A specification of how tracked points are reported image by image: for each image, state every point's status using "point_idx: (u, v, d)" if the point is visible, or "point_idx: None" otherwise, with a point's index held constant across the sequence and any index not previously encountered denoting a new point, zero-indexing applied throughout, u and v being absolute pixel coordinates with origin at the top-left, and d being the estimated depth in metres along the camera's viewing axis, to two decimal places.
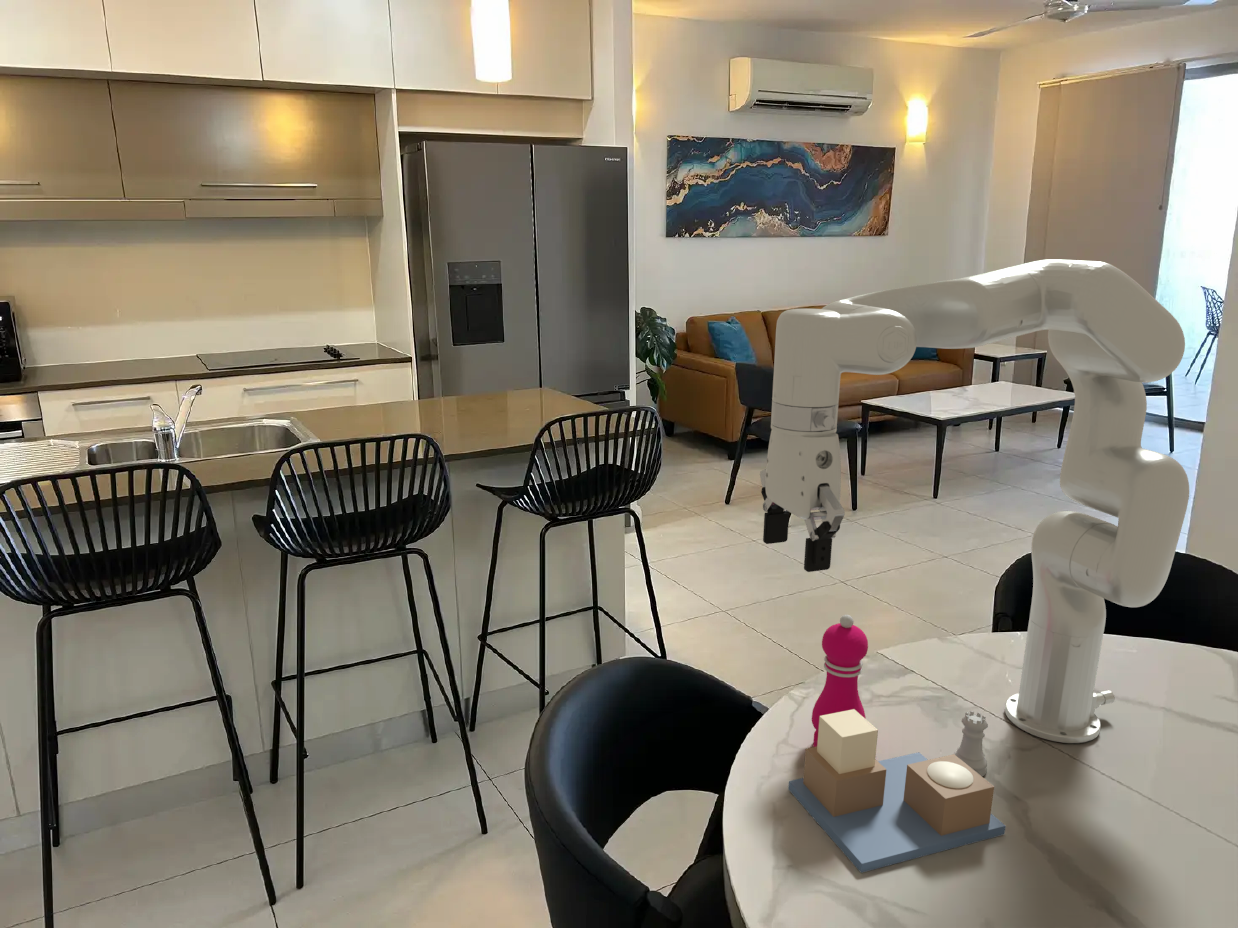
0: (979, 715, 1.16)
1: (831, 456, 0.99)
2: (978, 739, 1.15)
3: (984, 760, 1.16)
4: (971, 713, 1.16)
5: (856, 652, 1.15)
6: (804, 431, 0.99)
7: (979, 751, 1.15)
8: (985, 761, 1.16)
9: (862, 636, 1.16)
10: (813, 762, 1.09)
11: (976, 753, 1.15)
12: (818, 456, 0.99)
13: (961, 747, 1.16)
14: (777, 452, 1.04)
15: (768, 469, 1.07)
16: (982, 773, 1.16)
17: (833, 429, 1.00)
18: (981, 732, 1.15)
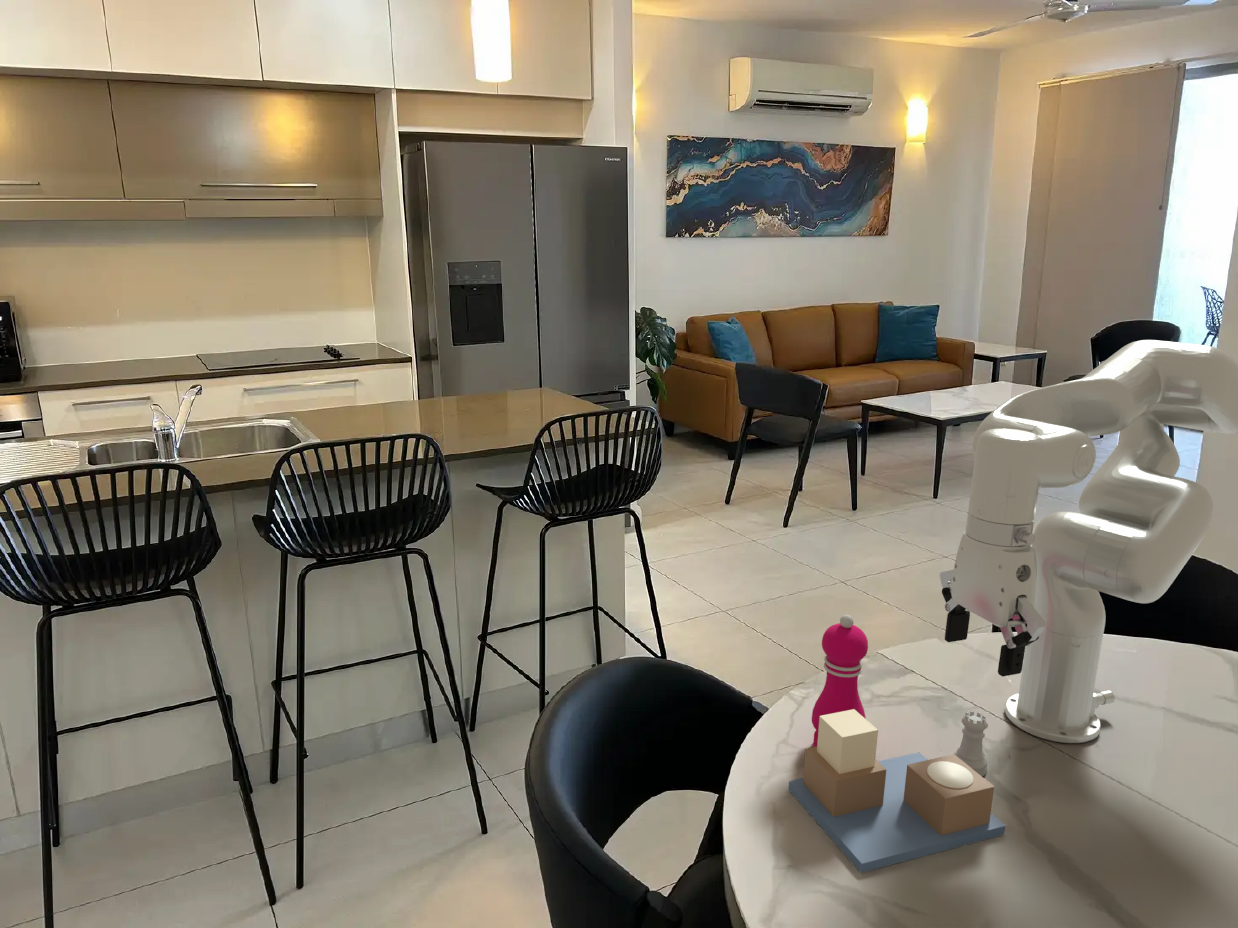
0: (979, 715, 1.16)
1: (1029, 569, 1.06)
2: (978, 739, 1.15)
3: (984, 760, 1.16)
4: (971, 713, 1.16)
5: (856, 652, 1.15)
6: (1005, 546, 1.05)
7: (979, 751, 1.15)
8: (985, 761, 1.16)
9: (862, 636, 1.16)
10: (813, 762, 1.09)
11: (976, 753, 1.15)
12: (1017, 569, 1.06)
13: (961, 747, 1.16)
14: (970, 560, 1.10)
15: (956, 574, 1.13)
16: (982, 773, 1.15)
17: None
18: (981, 732, 1.15)
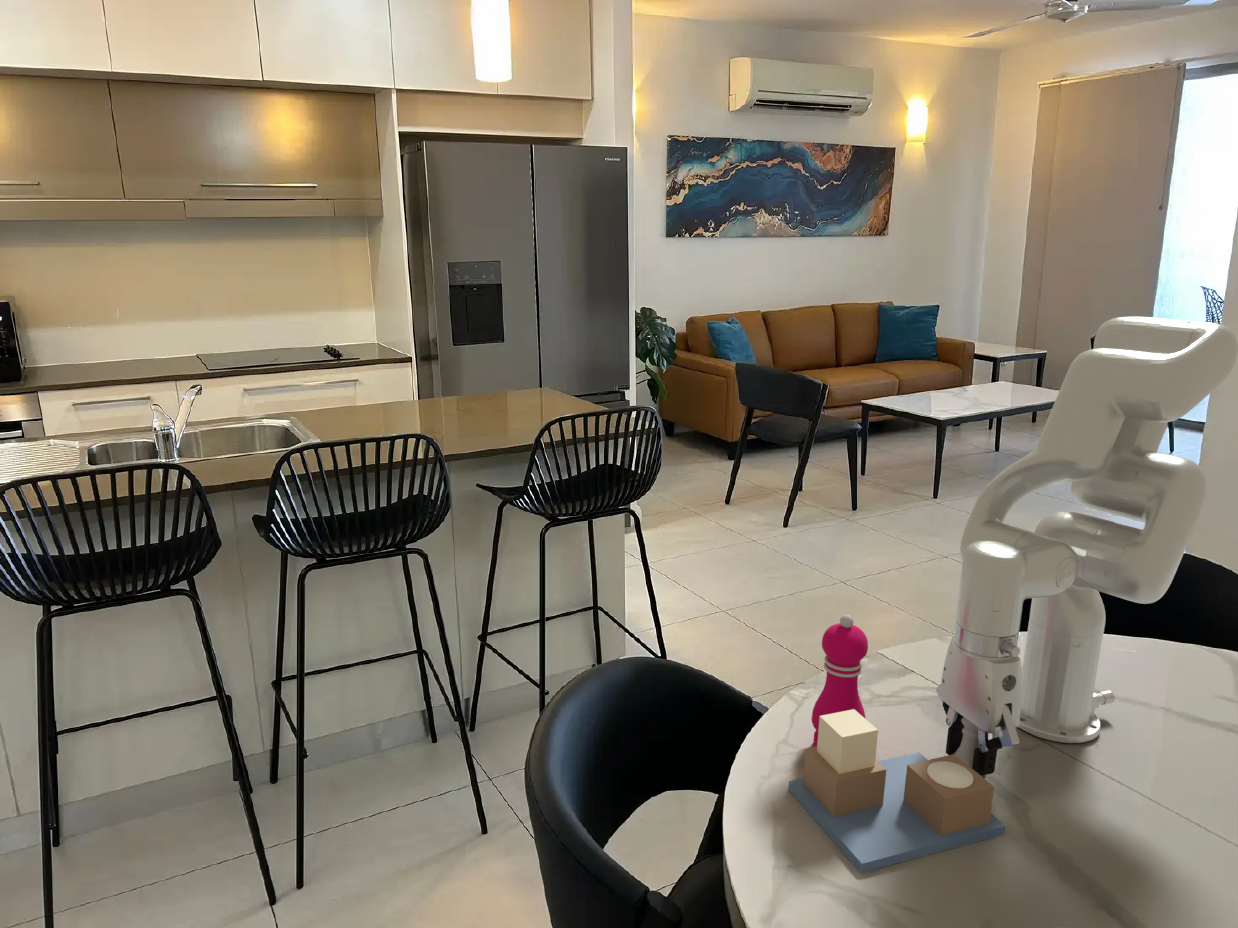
0: None
1: (1015, 679, 1.09)
2: (978, 739, 1.15)
3: None
4: None
5: (856, 652, 1.15)
6: (991, 657, 1.09)
7: None
8: None
9: (862, 636, 1.16)
10: (813, 762, 1.09)
11: None
12: (1003, 678, 1.09)
13: (961, 747, 1.16)
14: (958, 666, 1.14)
15: (945, 676, 1.17)
16: None
17: None
18: None
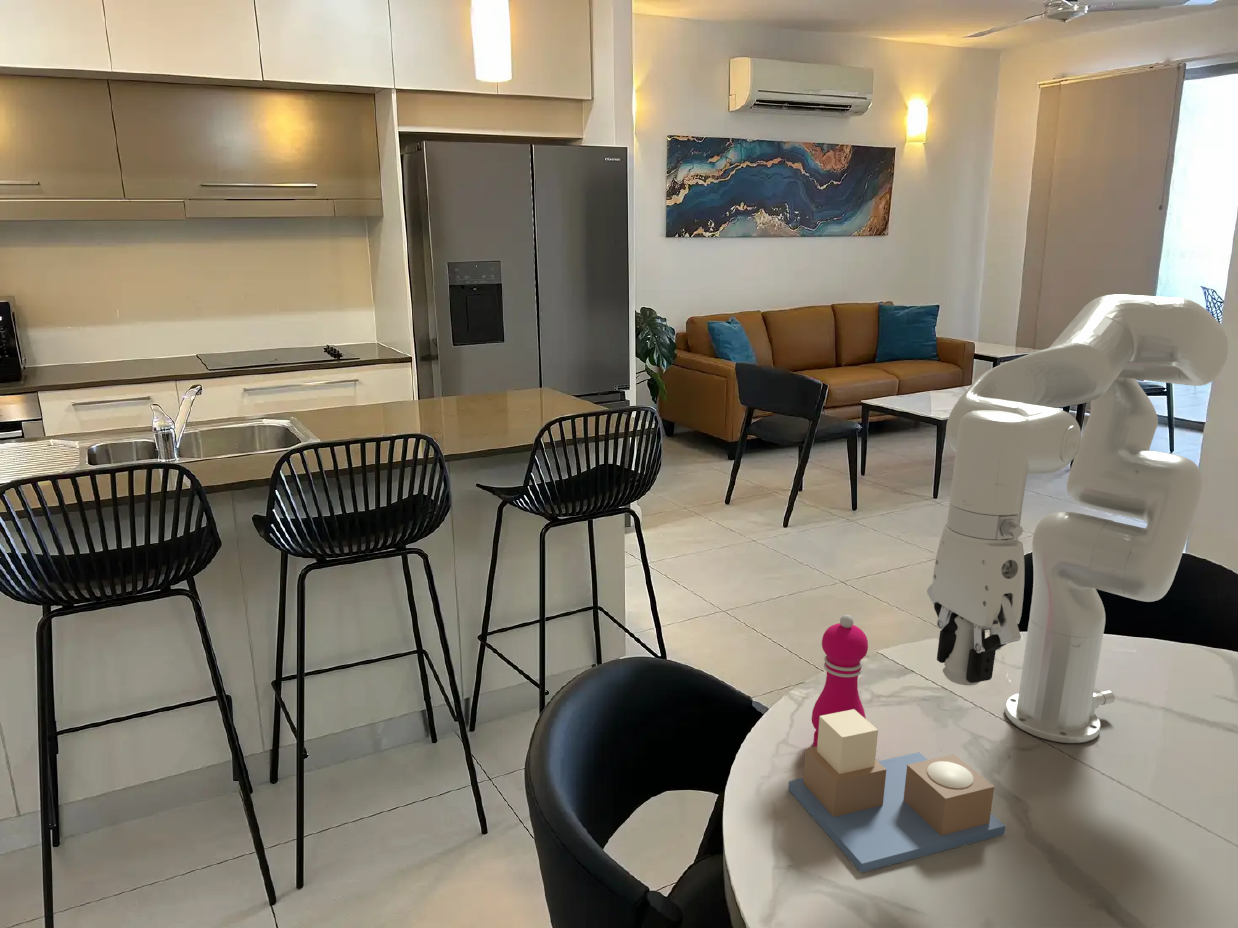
0: None
1: (1016, 565, 0.96)
2: (973, 640, 1.01)
3: None
4: None
5: (856, 652, 1.15)
6: (989, 539, 0.95)
7: None
8: None
9: (862, 636, 1.16)
10: (813, 762, 1.09)
11: None
12: (1002, 565, 0.96)
13: (954, 650, 1.02)
14: (952, 556, 1.00)
15: (937, 571, 1.03)
16: None
17: None
18: None
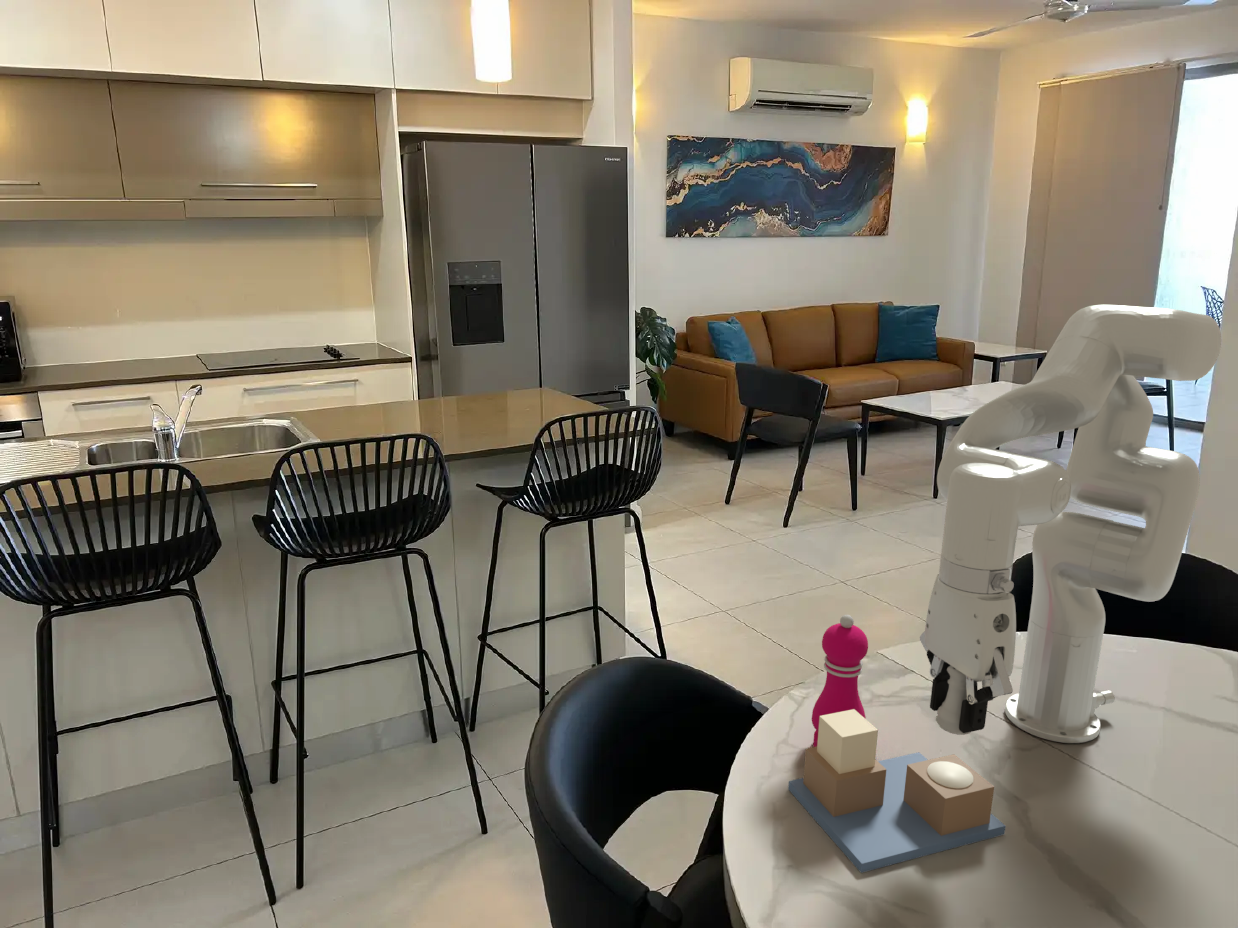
0: None
1: (1008, 619, 0.96)
2: (966, 690, 1.01)
3: None
4: None
5: (856, 652, 1.15)
6: (980, 593, 0.96)
7: None
8: None
9: (862, 636, 1.16)
10: (813, 762, 1.09)
11: None
12: (994, 618, 0.96)
13: (947, 699, 1.03)
14: (944, 607, 1.00)
15: (929, 620, 1.03)
16: None
17: None
18: None
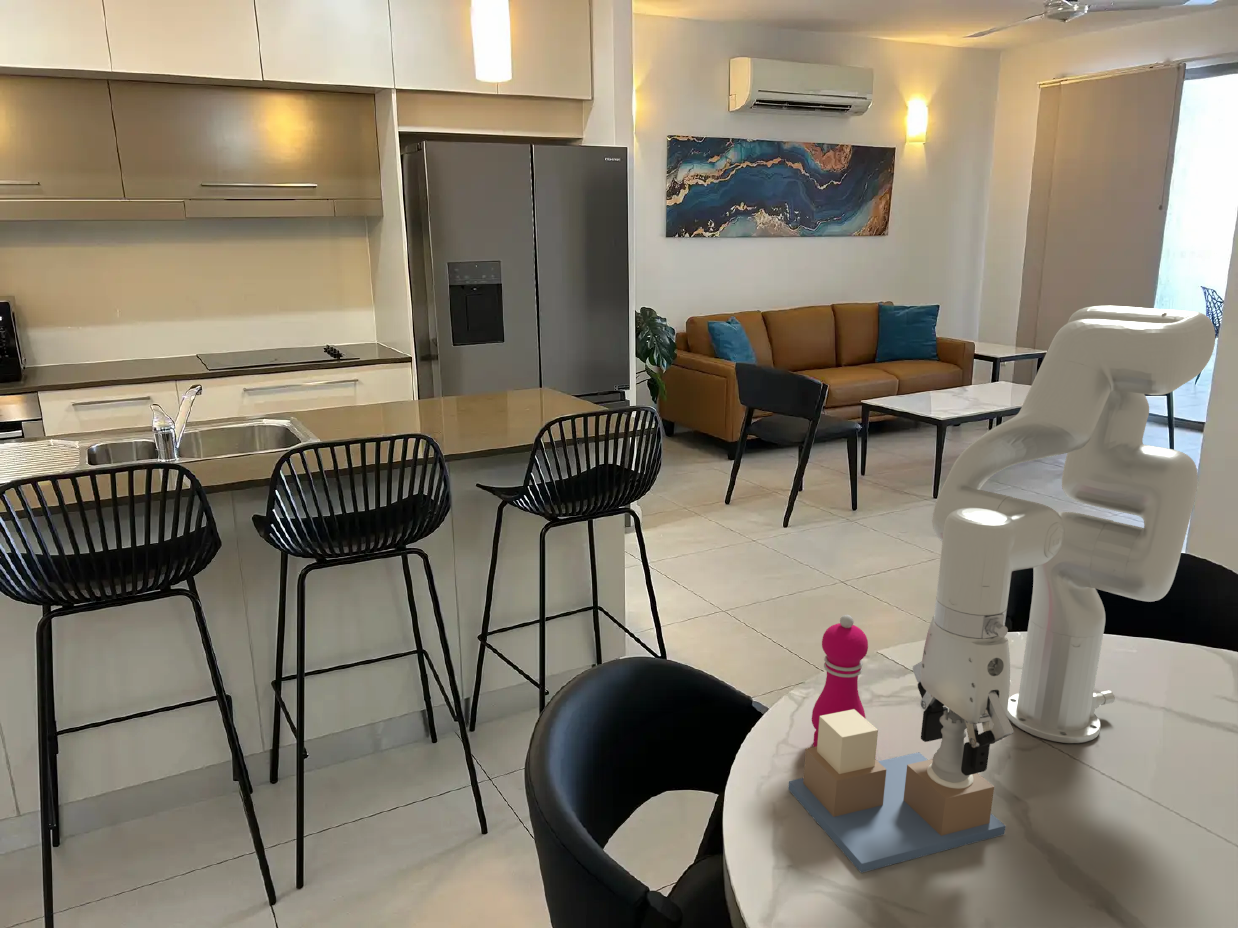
0: None
1: (1002, 662, 0.97)
2: (959, 740, 1.03)
3: None
4: (950, 711, 1.04)
5: (856, 652, 1.15)
6: (975, 638, 0.97)
7: (961, 752, 1.03)
8: None
9: (862, 636, 1.16)
10: (813, 762, 1.09)
11: (957, 755, 1.03)
12: (988, 662, 0.97)
13: (941, 748, 1.05)
14: (939, 649, 1.02)
15: (925, 661, 1.05)
16: (965, 776, 1.04)
17: None
18: (962, 732, 1.03)
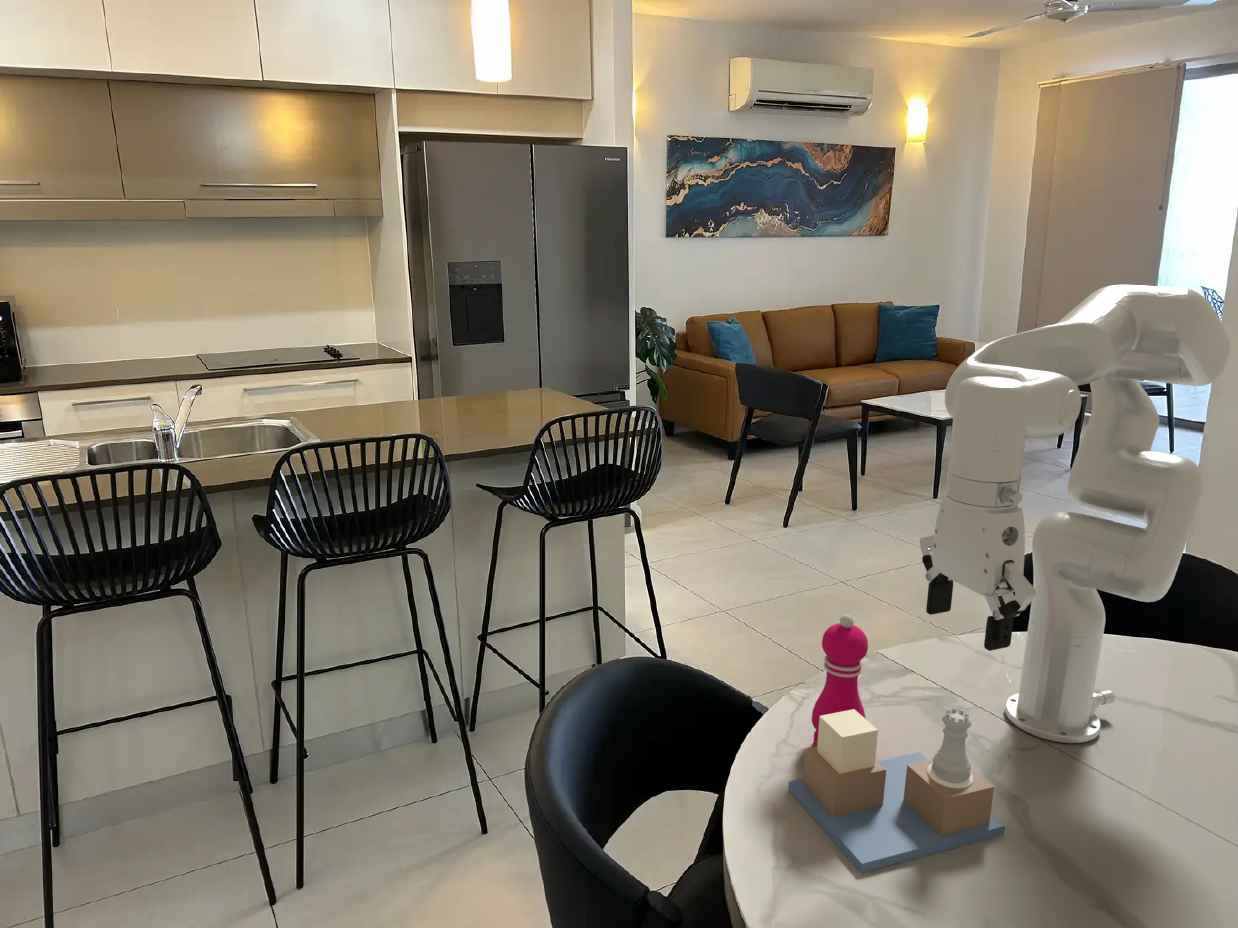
0: (962, 713, 1.04)
1: (1016, 532, 0.95)
2: (960, 739, 1.03)
3: (967, 763, 1.04)
4: (953, 711, 1.05)
5: (856, 652, 1.15)
6: (989, 506, 0.95)
7: (962, 753, 1.04)
8: (969, 764, 1.04)
9: (862, 636, 1.16)
10: (813, 762, 1.09)
11: (958, 755, 1.04)
12: (1003, 532, 0.95)
13: (942, 748, 1.05)
14: (951, 524, 0.99)
15: (937, 540, 1.02)
16: (965, 777, 1.04)
17: None
18: (964, 732, 1.03)
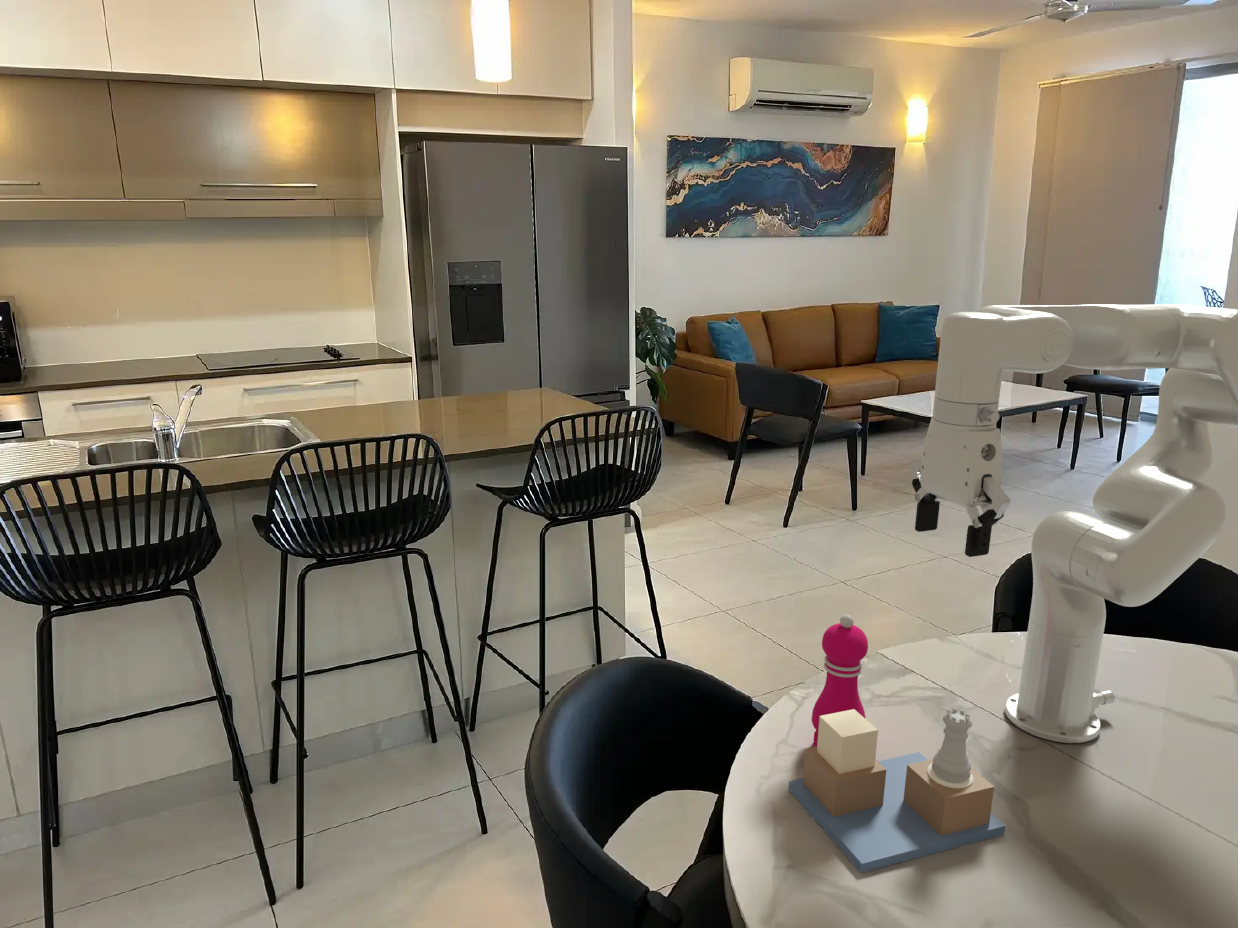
0: (962, 713, 1.04)
1: (994, 449, 1.07)
2: (961, 740, 1.03)
3: (968, 763, 1.04)
4: (954, 711, 1.05)
5: (856, 652, 1.15)
6: (970, 426, 1.07)
7: (962, 753, 1.04)
8: (969, 764, 1.04)
9: (862, 636, 1.16)
10: (813, 762, 1.09)
11: (958, 755, 1.04)
12: (982, 449, 1.07)
13: (943, 748, 1.05)
14: (937, 445, 1.11)
15: (925, 461, 1.14)
16: (965, 777, 1.04)
17: (994, 424, 1.08)
18: (964, 732, 1.03)
